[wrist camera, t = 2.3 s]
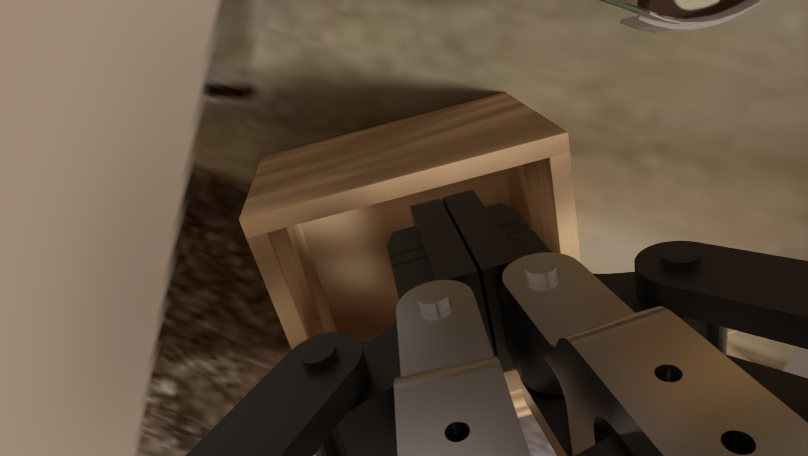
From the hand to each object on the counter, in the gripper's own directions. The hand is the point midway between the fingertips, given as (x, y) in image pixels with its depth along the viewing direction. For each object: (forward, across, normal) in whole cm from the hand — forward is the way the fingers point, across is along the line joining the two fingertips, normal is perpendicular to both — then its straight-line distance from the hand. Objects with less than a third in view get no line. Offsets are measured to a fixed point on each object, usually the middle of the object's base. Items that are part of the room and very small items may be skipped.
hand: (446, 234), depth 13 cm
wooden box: (+23, 0, +11) cm, 25 cm away
